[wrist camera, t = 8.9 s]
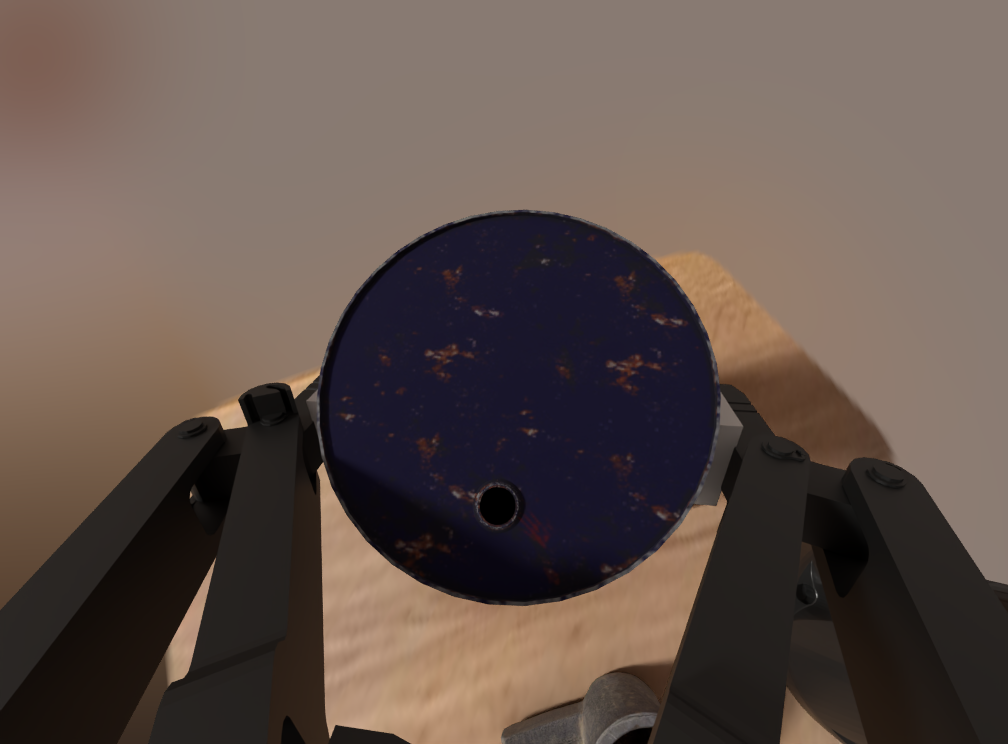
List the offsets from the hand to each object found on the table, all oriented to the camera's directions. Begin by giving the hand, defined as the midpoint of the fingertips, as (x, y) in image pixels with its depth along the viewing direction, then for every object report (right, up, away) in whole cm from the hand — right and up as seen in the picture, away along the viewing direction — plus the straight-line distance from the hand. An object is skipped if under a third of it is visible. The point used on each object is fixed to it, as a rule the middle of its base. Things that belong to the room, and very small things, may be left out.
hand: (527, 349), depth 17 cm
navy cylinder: (+1, -5, +7) cm, 9 cm away
